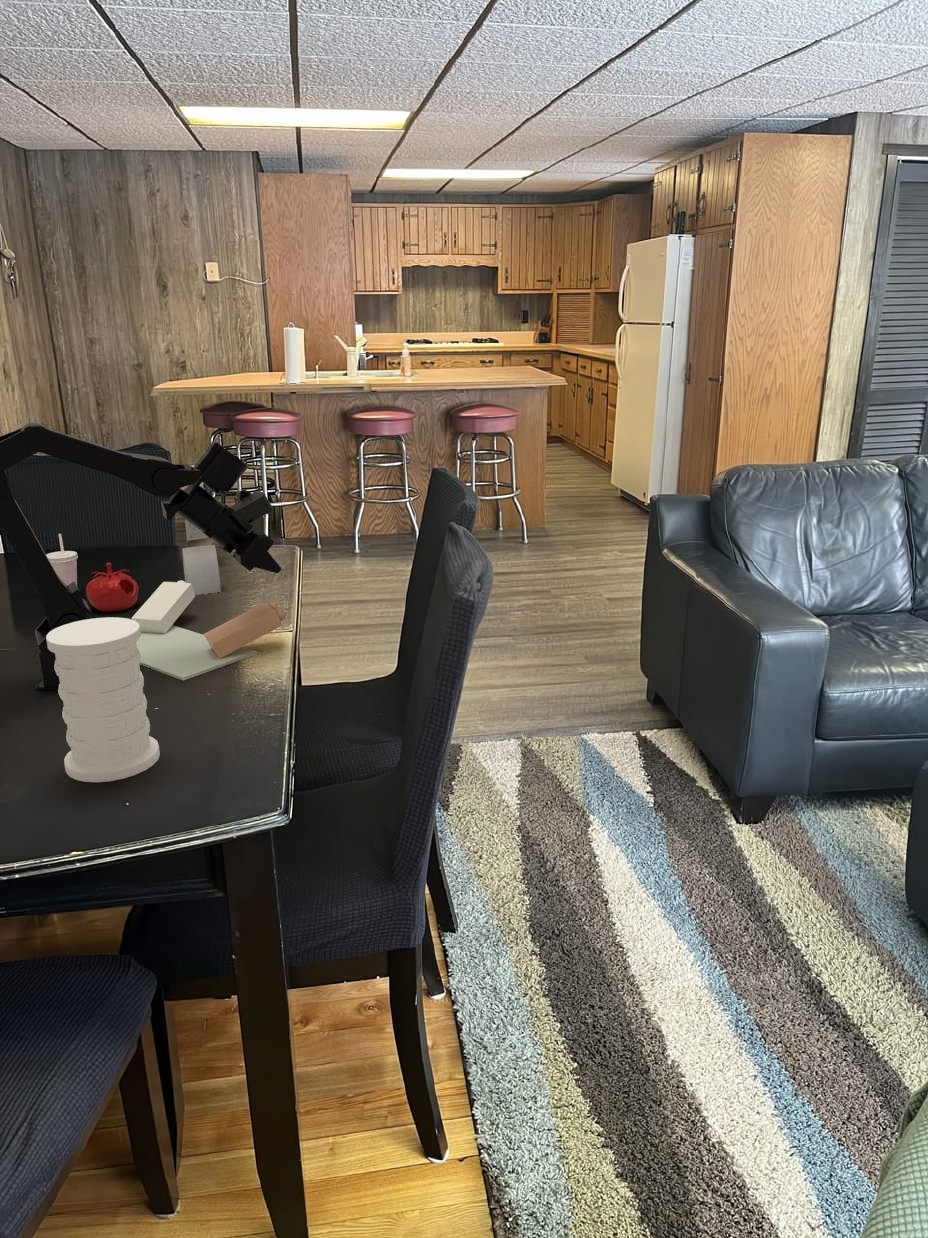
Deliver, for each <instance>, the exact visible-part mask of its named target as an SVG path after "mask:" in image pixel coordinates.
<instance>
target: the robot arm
mask: <svg viewBox="0 0 928 1238" xmlns="http://www.w3.org/2000/svg"><path fill="white" fill-rule="evenodd" d="M38 453H41V454H44V455H48V456H52V457H54V458H57V459H61V460H64V461H67V462H70V463H73V464H77V465H81V466H83V467H87V468H89V469H91V470H92V469H94V470H97V471H99V472H102V473H106V474H109V475H113V476H116V477H118V478H120V479H122V480H124V481H126V482H128V483H130V484H131V485H133V486H135V487H137V488H139V489H142V490H143V491H145V492H147V493H149V494H151V495H152V496H155V497H158V498H162V499H165V498H170V497H171V498H170V499H169V500H166V501H164V500H163V501H161V502H160V505H161V508H162V516H163V517H164V519H165V520H167V521H171V520H172V519H173V518H174V517H175V516H176V514H178V515H179V516H181V517H182V518H183V519H184V518H185V519H186V520H187V521H188V522H190V523H191V524H192V525H194V526H195V527H196V528H198V529H199V530H200V531H201V532H203V533H204V534H205V535H206V536H208V537H209V538H210V539H212V540H213V541H214V543H215V545H216V546H217V547H219V548H221V550H223V551H225V552H226V553H229V554H231V553H232V552H234V553H233V555H232V558H234V559H235V561H236V562H237V563H239V564H240V565H242V566H243V567H244V568H245V569H247V570H248V571H249V572H250V571H252V570H253V569H254V568H255V569H259V570H263V571H267V572H271V573H274V574H280V573H281V571H282V567H281V565H280V564H278V562H277V561H276V560H275V558H274V557H273V555H271V553H270V552H269V550H270V549H271V547H273V545H274V543H275V541H274V540H273V539H272V538H270V537H269V536H268V535H267V534H266V533H264V532H263V531H261V530H256V529H253V528H254V524H252V523H253V522H255V521H257V520H259V519H260V518H262V517H264V516H265V515H269V514H271V513H272V512H273V511H274V508H273V506H272V504H271V503H270V500H269V499H268V497H267V496H266V494H265V493H264V492H263V491H260V490H253V491H252V493H251V492H250V491H248V490H247V489H245V488H242V489H241V490H239V491H237V492H236V501H235V502H234V504H233V505H231V506H228V505H227V504H225V503H222V502H221V501H220V500H218V499H217V498H216V497H215V496H213V495H212V494H211V493H210V492H209V491H207V490H206V489H205V488H204V487H203V486H201V485H202V484H203V485H205V486H206V487H207V488H208V489H209V490H210V491H212V492H213V493H215V494H217V495H219V494H220V492H221V493H222V494H224V493H226V494H228V493H229V492H230V490H232V488H233V487H234V486H235V485H236V483H237V482H238V481H239V480H240V478H241V477H242V476H243V475H244V473H246V471H247V470H248V469H249V466H248V465H247V464H246V463H245V462H244V461H243V460H242V459H241V458H239V457H238V456H237V455H236V454H234V453H232V452H230V451H229V450H228V449H226V448H225V447H224V446H222V445H221V444H220V443H218V442H217V441H212V442H211V443H210V444H209V445H208V447H207V449H206V451H205V452H204V453H203V455H202V456H201V457H200V458H199V460H198V461H197V462H196V463H195V464H194V465H191V464H187V463H185V464H176V463H173V462H171V461H169V460H168V459H167V458H166V459H165V458H164V457H160V456H154V455H148V454H141V453H134V452H124V451H120V450H116V449H113V448H110V447H106V446H103V445H101V444H99V443H98V444H97V443H94V442H93V441H88V440H85V439H83V438H79V437H76V436H74V435H73V436H72V435H71V434H70V435H69V434H66V433H64V432H61V431H57V430H54V429H51V428H48V427H46V426H44V424H41V423H38V422H28V423H26V424H24V425H23V426H22V427H20V428H18V429H16V430H13V431H10V432H8V433H5V434H2V435H0V530H2V533H3V534H4V536H5V538H6V540H7V541H8V543H9V545H10V546H11V548H12V549H13V552H14V553H15V554H16V556H17V559H18V560H19V562H20V564H21V565H22V568H24V571H25V572H26V574H27V575H28V577H29V579H30V581H31V582H32V585H33V586H34V587H35V589H36V591H37V594H38V596H39V599H40V602H41V605H42V608H43V611H44V615H45V618H44V619H43V620H42V621H41V622H40V624H38V626H37V627H36V628H35V629H34V634H35V637H36V642H37V645H38V651H39V652H38V653H37V654H38V660H39V664H40V672H41V676H42V677H41V678H42V681H40V682H39V683H37V684H36V685H34V690H37V691H39V690H41V691H58V689H59V684H60V680H59V676H58V675H57V674H56V672H55V669H54V664H55V660H56V656H55V653H53V652H51V651H50V650H49V649H48V646H47V640H46V635H47V634H48V633H49V632H50V631H52V630H54V629H55V628H57V627H60V626H62V625H65V624H69V623H72V622H76V621H81V620H86V619H90V617H89V614H92V610H91V608H90V606H89V604H88V601H86V600H85V599H84V598H83V597H82V595H81V592H80V589H79V587H78V584H77V585H76V583H75V582H72V583H71V584H69V585H68V586H67V585H66V584H65V583H64V582H63V581H62V580H61V579H60V578H59V576H58V575H57V573H56V571H55V570H54V568H53V566H52V564H51V563H50V561H49V559H48V557H47V556H46V555H47V553H46V552H45V551H44V549H43V547H42V545H41V544H40V541H39V540H38V538H37V536H36V534H35V533H34V530H33V528H32V527H31V525H30V524H29V522H28V520H27V518H26V517H25V515H24V514H23V511H22V510H21V508H20V505H18V503H17V501H16V499H15V497H14V495H13V492H12V489H11V486H10V483H9V479H8V476H7V474H6V471H5V470H7V469H9V468H11V467H13V466H15V465H17V464H19V463H20V462H22V461H24V460H26V459H27V458H30V457H31V456H33V455H35V454H38ZM182 488H184V489H182ZM252 529H253V530H252Z"/></svg>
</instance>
